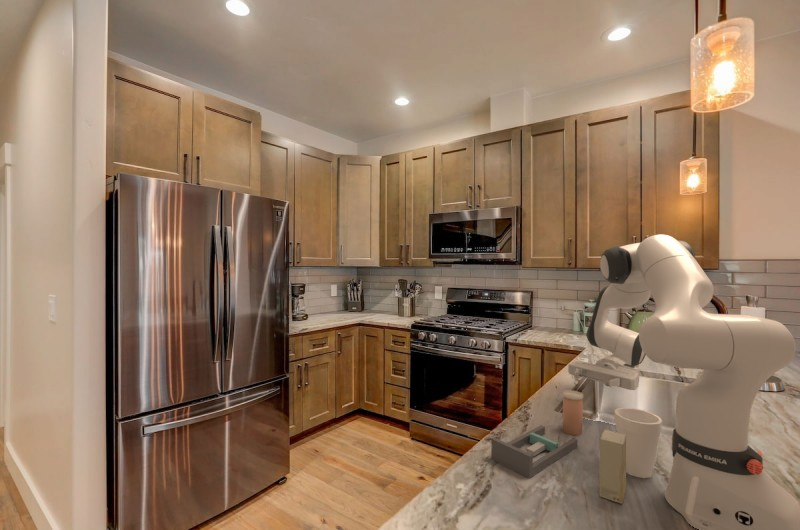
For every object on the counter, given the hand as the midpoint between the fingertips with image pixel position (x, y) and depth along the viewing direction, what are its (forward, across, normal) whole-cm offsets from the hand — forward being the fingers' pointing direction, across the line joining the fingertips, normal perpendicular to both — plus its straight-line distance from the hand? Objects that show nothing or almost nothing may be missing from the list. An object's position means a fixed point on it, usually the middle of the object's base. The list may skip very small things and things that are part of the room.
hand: (591, 379), depth 115 cm
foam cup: (+21, +19, +12) cm, 31 cm away
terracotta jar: (+13, 0, +12) cm, 18 cm away
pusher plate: (+32, 0, +12) cm, 34 cm away
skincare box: (+35, +19, +12) cm, 42 cm away
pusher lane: (+32, 0, +12) cm, 34 cm away
